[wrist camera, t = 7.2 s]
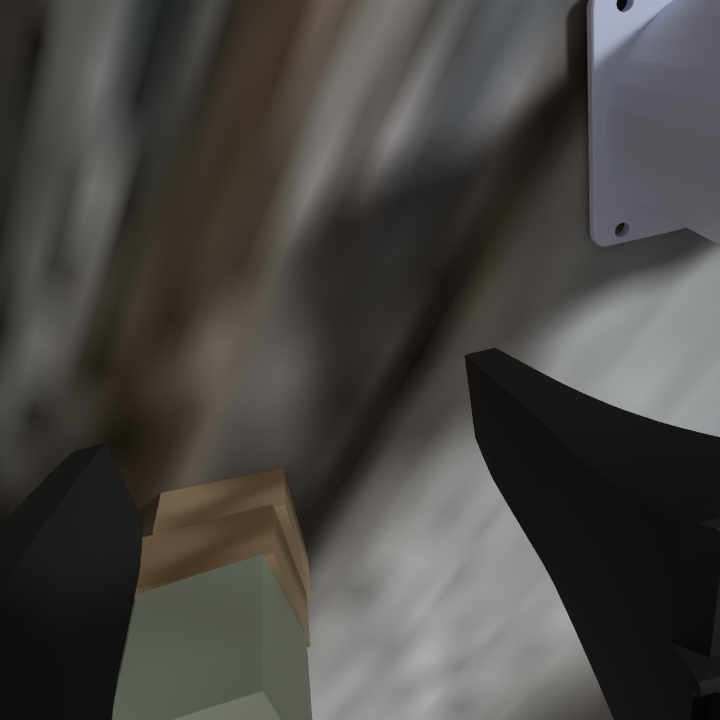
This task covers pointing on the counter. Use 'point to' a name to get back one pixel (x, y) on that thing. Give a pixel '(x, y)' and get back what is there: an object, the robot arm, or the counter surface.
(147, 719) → the sage block
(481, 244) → the counter surface
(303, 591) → the slab upper
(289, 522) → the slab lower
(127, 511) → the robot arm
